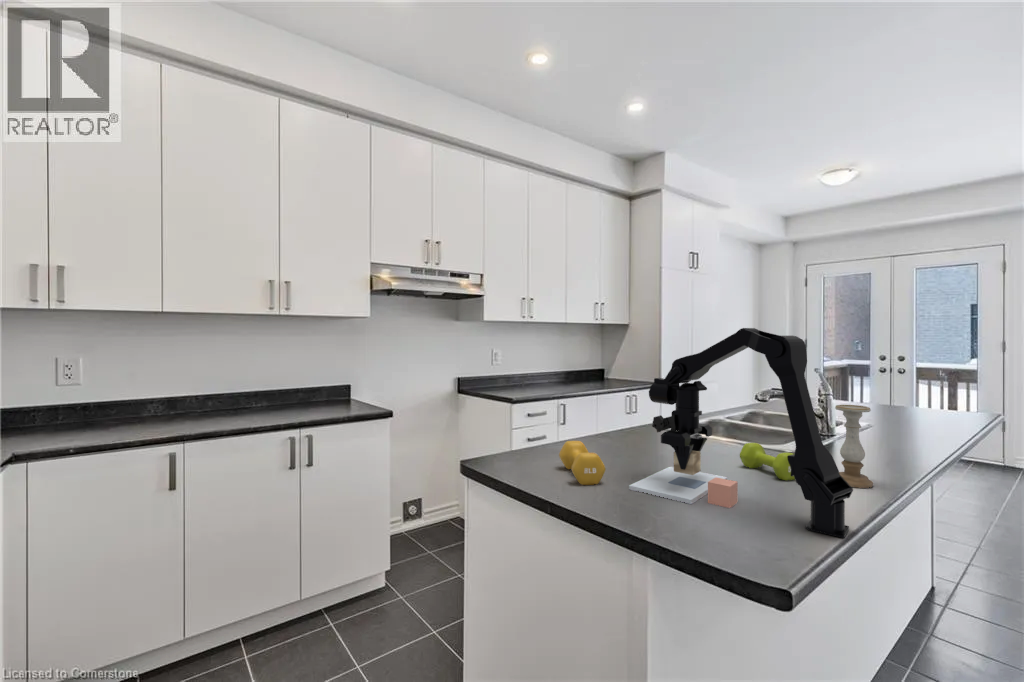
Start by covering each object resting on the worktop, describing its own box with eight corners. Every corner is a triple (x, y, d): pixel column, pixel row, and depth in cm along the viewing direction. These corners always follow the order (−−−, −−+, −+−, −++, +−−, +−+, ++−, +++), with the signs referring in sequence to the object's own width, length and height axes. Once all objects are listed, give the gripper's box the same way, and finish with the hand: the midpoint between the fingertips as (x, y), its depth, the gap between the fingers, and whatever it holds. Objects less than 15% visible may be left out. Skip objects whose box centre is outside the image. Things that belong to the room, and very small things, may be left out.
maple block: (692, 475, 120) (692, 455, 120) (673, 471, 123) (673, 452, 123) (700, 470, 124) (700, 451, 124) (681, 467, 127) (681, 448, 127)
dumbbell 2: (804, 480, 129) (805, 454, 129) (780, 482, 127) (780, 455, 127) (759, 464, 145) (759, 441, 145) (736, 466, 143) (737, 442, 143)
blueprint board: (691, 504, 111) (691, 499, 111) (629, 489, 121) (629, 484, 121) (727, 481, 128) (727, 476, 128) (670, 469, 139) (670, 465, 139)
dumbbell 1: (558, 467, 143) (557, 440, 143) (587, 466, 144) (587, 439, 144) (573, 487, 124) (573, 455, 124) (607, 486, 125) (607, 454, 125)
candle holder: (825, 481, 128) (825, 405, 128) (843, 476, 132) (844, 403, 132) (861, 490, 120) (861, 409, 120) (880, 485, 124) (880, 407, 124)
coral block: (730, 508, 108) (730, 486, 108) (707, 503, 111) (707, 482, 111) (737, 502, 112) (737, 481, 112) (715, 498, 115) (715, 477, 115)
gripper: (672, 400, 136) (672, 455, 136) (641, 407, 122) (641, 468, 122) (712, 404, 128) (712, 462, 128) (683, 412, 114) (684, 477, 114)
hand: (687, 467), depth 123 cm, fingers closed on maple block, 5 cm apart
